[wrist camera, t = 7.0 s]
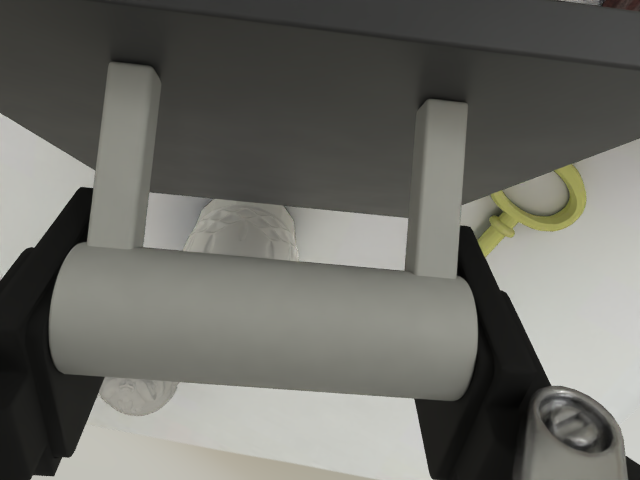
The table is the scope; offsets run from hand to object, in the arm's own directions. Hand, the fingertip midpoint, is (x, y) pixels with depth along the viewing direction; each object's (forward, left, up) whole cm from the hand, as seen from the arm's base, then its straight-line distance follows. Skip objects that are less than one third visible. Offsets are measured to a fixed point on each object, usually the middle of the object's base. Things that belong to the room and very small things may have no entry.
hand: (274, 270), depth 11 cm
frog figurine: (+25, -9, -22) cm, 35 cm away
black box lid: (-1, 0, -5) cm, 5 cm away
